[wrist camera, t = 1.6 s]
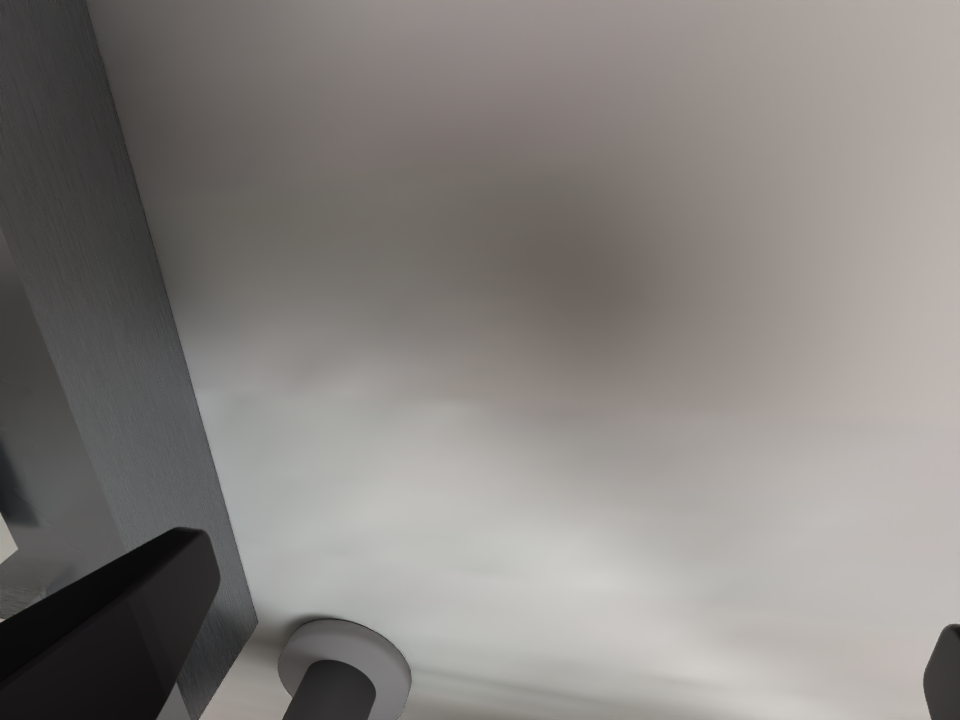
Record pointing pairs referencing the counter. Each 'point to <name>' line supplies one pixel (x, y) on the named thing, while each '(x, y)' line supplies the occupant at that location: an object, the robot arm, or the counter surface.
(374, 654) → the post
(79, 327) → the panel
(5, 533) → the slider
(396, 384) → the counter surface
